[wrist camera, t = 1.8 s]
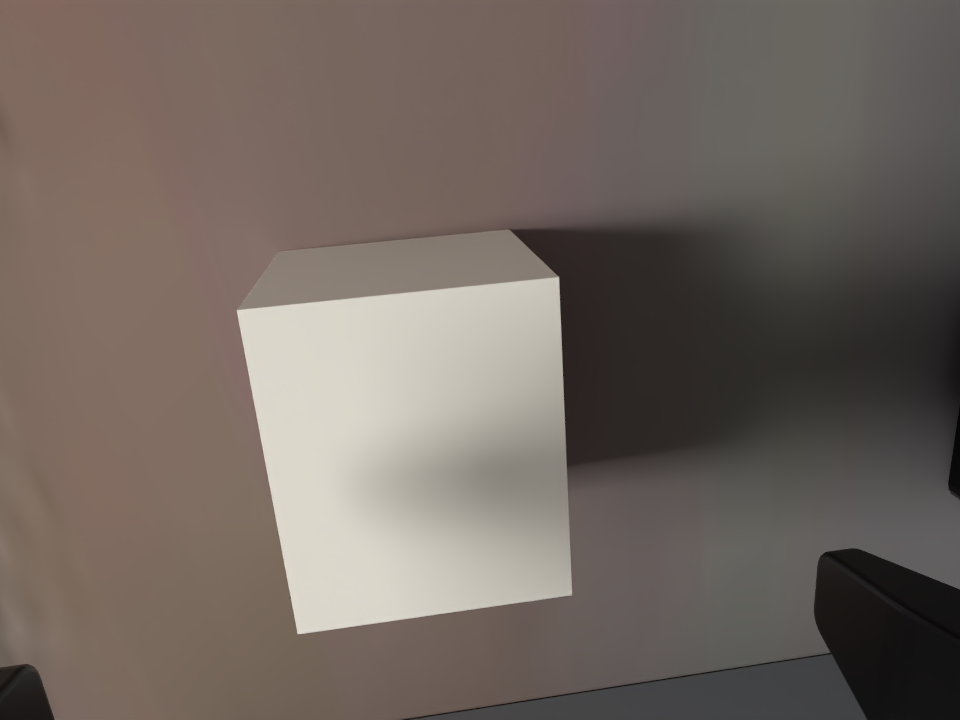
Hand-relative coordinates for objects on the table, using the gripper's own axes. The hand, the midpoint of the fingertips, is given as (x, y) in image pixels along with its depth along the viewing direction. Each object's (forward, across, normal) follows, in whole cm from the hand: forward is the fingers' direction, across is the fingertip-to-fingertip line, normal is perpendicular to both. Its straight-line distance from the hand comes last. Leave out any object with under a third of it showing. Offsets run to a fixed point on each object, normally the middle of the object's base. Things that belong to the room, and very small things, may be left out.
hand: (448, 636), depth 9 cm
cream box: (+9, 0, 0) cm, 9 cm away
